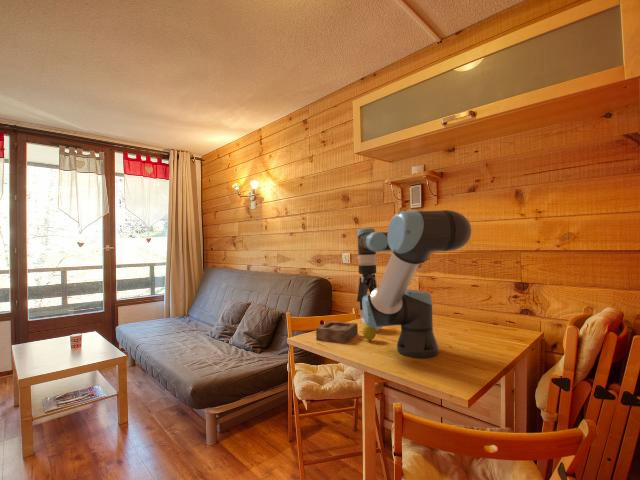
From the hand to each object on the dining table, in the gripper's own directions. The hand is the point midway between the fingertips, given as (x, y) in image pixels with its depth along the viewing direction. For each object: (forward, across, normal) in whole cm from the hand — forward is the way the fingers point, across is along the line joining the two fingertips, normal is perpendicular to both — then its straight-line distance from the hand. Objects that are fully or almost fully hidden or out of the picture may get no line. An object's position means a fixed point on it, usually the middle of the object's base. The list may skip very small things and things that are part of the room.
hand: (368, 314), depth 140 cm
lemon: (+12, 0, 0) cm, 12 cm away
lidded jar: (+12, -17, -4) cm, 21 cm away
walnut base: (+12, 0, -15) cm, 19 cm away
